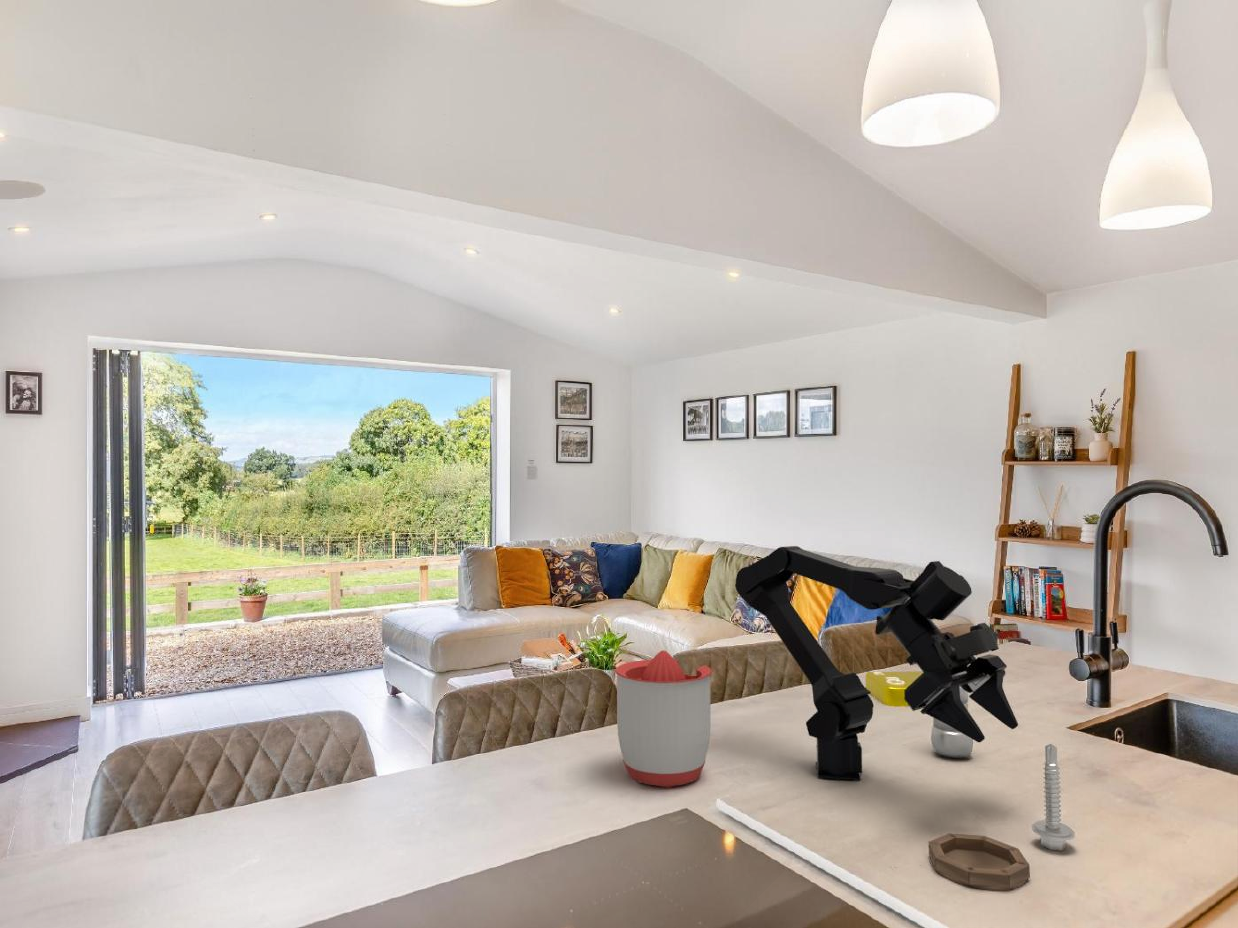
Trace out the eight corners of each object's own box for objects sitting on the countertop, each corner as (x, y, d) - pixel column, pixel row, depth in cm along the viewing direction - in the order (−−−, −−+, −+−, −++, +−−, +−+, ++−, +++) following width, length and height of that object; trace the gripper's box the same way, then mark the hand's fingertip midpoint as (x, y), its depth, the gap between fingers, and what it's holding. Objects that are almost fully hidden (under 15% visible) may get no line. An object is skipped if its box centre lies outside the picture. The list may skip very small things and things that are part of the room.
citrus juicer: (738, 770, 128) (737, 647, 129) (671, 802, 115) (670, 665, 116) (664, 749, 139) (663, 636, 139) (595, 776, 126) (595, 650, 127)
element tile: (957, 707, 166) (956, 684, 166) (886, 708, 166) (886, 685, 166) (927, 689, 181) (926, 668, 181) (862, 690, 181) (862, 669, 181)
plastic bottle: (977, 763, 131) (975, 642, 132) (934, 760, 132) (932, 641, 133) (968, 750, 137) (966, 635, 138) (927, 748, 139) (925, 634, 139)
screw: (1026, 846, 100) (1039, 834, 104) (1068, 858, 97) (1080, 845, 100) (1024, 743, 101) (1037, 735, 104) (1065, 752, 97) (1077, 743, 101)
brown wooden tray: (940, 885, 91) (940, 869, 91) (923, 844, 101) (922, 830, 101) (1039, 894, 88) (1039, 878, 89) (1011, 851, 99) (1011, 837, 99)
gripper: (922, 611, 105) (1007, 712, 96) (991, 599, 117) (1073, 688, 108) (872, 661, 111) (948, 760, 102) (943, 644, 123) (1016, 732, 114)
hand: (999, 733), depth 106 cm, fingers open, 9 cm apart
